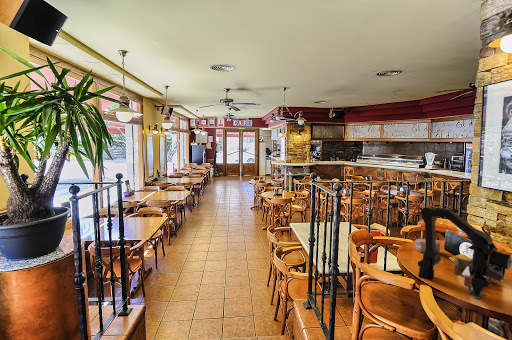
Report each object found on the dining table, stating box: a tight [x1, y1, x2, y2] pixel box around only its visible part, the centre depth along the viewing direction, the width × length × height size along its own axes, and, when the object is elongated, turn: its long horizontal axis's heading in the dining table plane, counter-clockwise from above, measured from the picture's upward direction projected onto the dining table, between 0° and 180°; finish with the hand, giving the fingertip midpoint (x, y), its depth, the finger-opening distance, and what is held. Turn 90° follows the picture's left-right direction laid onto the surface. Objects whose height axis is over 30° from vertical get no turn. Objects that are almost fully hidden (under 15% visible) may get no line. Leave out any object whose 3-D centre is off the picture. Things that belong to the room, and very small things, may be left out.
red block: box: [463, 275, 485, 299], centre depth 131 cm, size 8×14×8 cm, turn 144°
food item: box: [414, 237, 441, 254], centre depth 179 cm, size 14×8×10 cm, turn 84°
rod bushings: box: [467, 286, 483, 299], centre depth 131 cm, size 5×6×2 cm
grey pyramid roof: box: [461, 266, 486, 278], centre depth 141 cm, size 8×9×10 cm
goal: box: [453, 256, 493, 284], centre depth 149 cm, size 16×12×6 cm
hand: (476, 290), depth 127 cm, fingers open, 9 cm apart
